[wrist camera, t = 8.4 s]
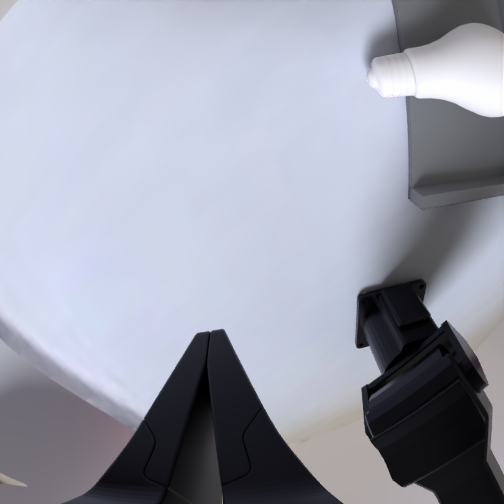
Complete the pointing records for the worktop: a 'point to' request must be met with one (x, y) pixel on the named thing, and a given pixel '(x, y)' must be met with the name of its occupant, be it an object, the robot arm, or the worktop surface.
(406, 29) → the tray
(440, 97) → the lightbulb
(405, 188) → the worktop surface
